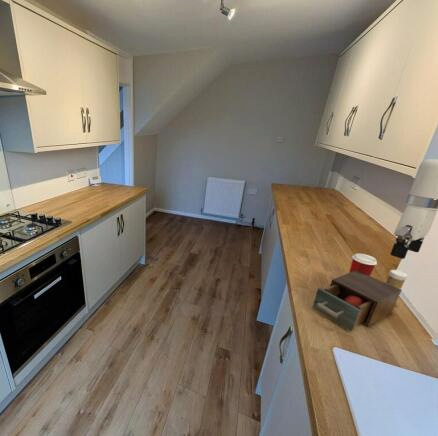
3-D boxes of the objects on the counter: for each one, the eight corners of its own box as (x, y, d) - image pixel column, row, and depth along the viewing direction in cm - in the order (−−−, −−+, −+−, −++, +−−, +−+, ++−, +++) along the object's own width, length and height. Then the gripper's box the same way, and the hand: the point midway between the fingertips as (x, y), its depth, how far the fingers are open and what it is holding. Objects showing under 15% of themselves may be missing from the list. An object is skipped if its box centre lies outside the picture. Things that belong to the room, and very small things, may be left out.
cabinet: (367, 326, 80) (378, 302, 77) (324, 301, 92) (332, 279, 88) (391, 313, 86) (401, 289, 83) (348, 291, 98) (355, 270, 95)
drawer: (342, 337, 75) (350, 315, 72) (303, 311, 86) (309, 291, 83) (374, 318, 82) (383, 298, 80) (335, 297, 93) (341, 278, 90)
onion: (338, 294, 85) (360, 289, 85) (336, 306, 87) (358, 301, 87) (352, 306, 80) (375, 300, 79) (350, 318, 82) (373, 313, 82)
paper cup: (369, 288, 101) (381, 259, 96) (362, 293, 97) (373, 263, 92) (347, 278, 107) (357, 251, 102) (339, 283, 103) (349, 255, 98)
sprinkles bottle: (391, 307, 89) (405, 277, 85) (376, 300, 93) (388, 271, 88) (395, 303, 91) (409, 273, 87) (380, 297, 95) (392, 268, 90)
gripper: (419, 196, 77) (401, 244, 82) (394, 202, 70) (375, 254, 75) (455, 201, 70) (432, 253, 76) (431, 209, 63) (408, 265, 69)
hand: (404, 253), depth 76 cm, fingers open, 9 cm apart
